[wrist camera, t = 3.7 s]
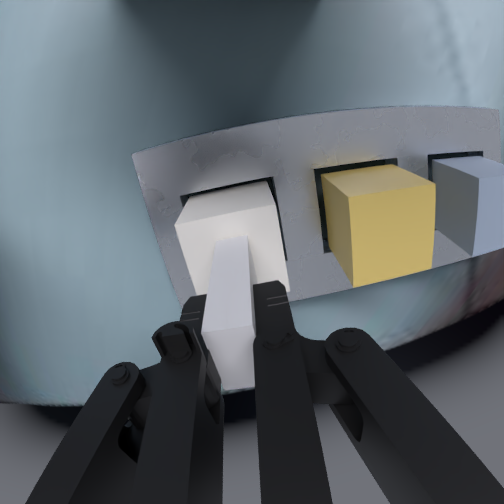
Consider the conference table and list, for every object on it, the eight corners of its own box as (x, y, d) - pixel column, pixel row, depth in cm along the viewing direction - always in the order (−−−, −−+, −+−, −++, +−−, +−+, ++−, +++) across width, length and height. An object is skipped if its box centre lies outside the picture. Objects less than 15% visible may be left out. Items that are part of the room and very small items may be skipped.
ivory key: (208, 263, 21) (201, 307, 16) (189, 196, 19) (174, 225, 14) (279, 250, 20) (290, 291, 16) (266, 180, 18) (275, 203, 14)
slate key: (431, 225, 19) (472, 257, 15) (431, 159, 17) (479, 178, 13) (477, 216, 19) (518, 242, 14) (479, 155, 17) (526, 172, 12)
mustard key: (328, 246, 20) (353, 287, 15) (320, 174, 17) (348, 197, 13) (394, 233, 19) (431, 268, 15) (392, 164, 17) (435, 183, 13)
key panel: (189, 303, 23) (186, 319, 22) (141, 150, 18) (131, 154, 16) (479, 241, 22) (492, 251, 20) (482, 107, 17) (498, 109, 15)
